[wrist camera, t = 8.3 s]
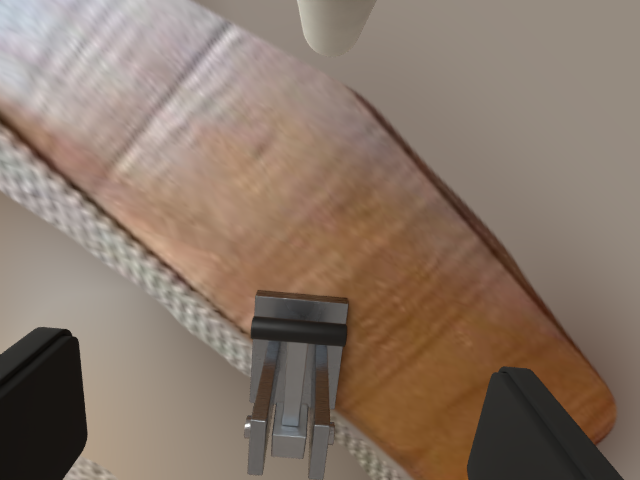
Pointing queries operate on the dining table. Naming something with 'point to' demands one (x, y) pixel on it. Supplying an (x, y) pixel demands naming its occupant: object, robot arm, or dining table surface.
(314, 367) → the press bracket
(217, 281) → the dining table surface
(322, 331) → the press lever
